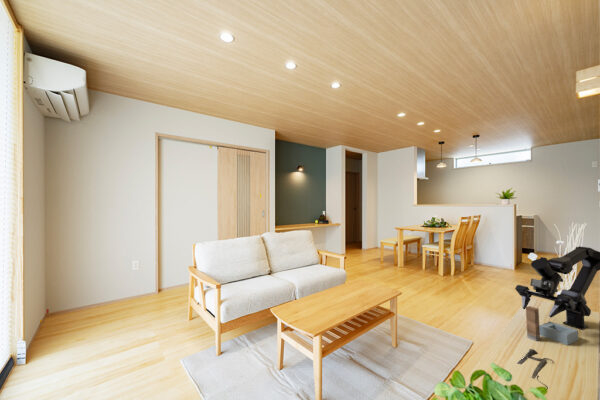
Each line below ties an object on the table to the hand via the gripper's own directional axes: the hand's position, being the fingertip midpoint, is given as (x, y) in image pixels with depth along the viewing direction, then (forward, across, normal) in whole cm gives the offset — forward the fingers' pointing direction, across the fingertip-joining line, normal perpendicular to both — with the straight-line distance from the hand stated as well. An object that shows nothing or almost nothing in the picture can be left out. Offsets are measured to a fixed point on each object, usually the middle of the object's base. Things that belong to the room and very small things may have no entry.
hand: (536, 312), depth 109 cm
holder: (+2, +4, +12) cm, 13 cm away
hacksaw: (+26, +11, -10) cm, 29 cm away
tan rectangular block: (+9, 0, +5) cm, 11 cm away
